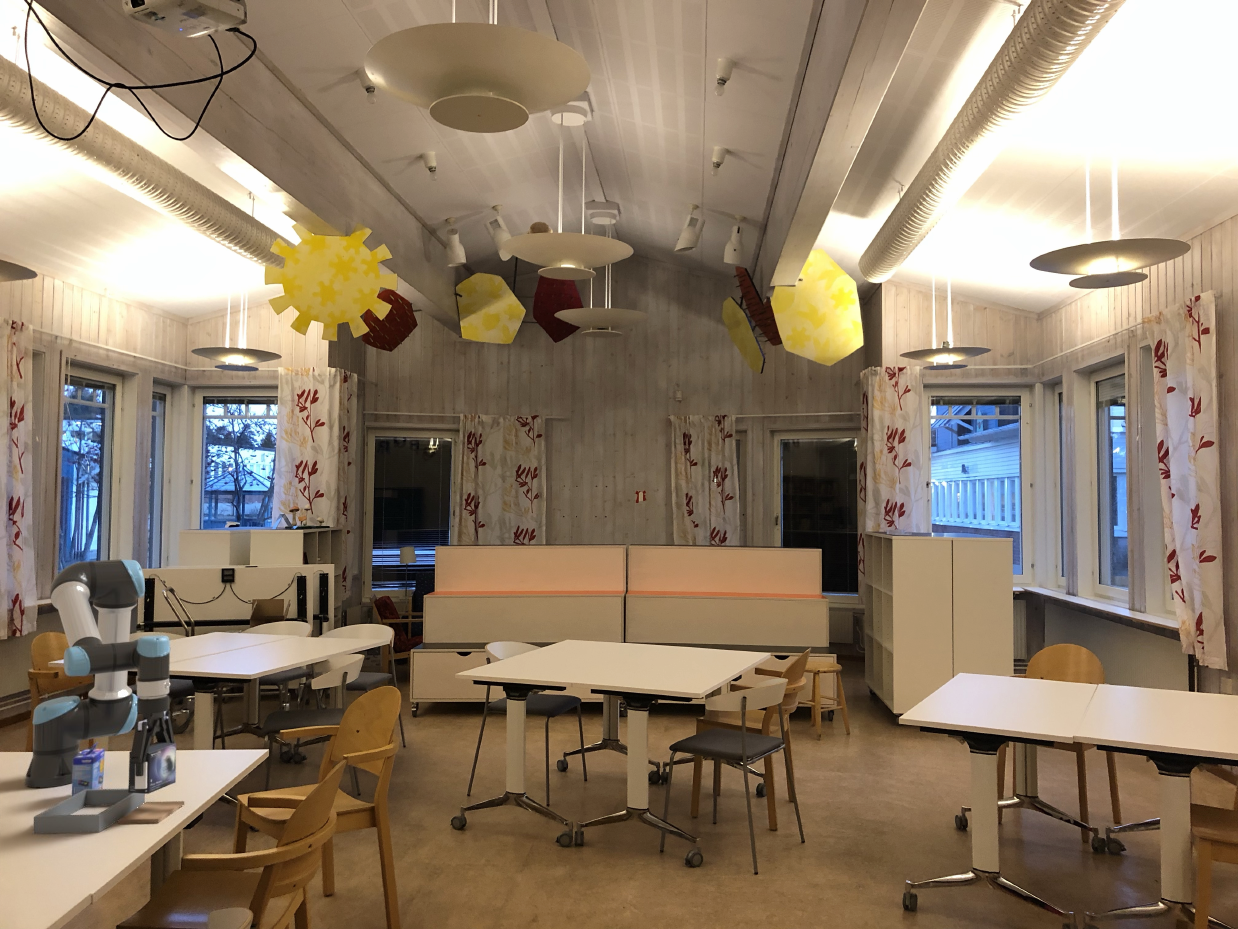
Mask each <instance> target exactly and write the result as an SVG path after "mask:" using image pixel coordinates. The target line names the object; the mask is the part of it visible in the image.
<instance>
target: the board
mask: <svg viewBox="0 0 1238 929" xmlns="http://www.w3.org/2000/svg"><path fill="white" fill-rule="evenodd" d="M182 805H184V806H185V801H183V800H176V801H173V800H172V801H146V802H145V803H144V804H142V805H141V806H139V807H138V808H136V809H135V810H133V811H131V812H130V813H128V814H127V815H125V816H124V817H122V818H120V819H119V820H118V824H119V825H120V824H122V825H126V824H129V823H132V824H159V823H161V822H162V821H163V820H165V819H166V818H168V817H169V816H171V815H172V814H174V813H175V812H176V811H178V810H179V809H180V808H179V807H181V806H182ZM182 807H183V806H182ZM182 807H181V808H182ZM178 808H179V809H178ZM177 809H178V810H177ZM174 811H175V812H174ZM173 812H174V813H173ZM170 814H171V815H170Z"/></svg>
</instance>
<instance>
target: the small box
mask: <svg viewBox="0 0 1238 929" xmlns="http://www.w3.org/2000/svg"><path fill="white" fill-rule="evenodd" d="M131 751H132V750H130V751H129V753H128V754H129V755H128V757H129V758H128V759H129V761H128V785H127V786H128V787H127V789H128V793H143V794H145V795H146V794H147V795H148V794H151V793H154V792H157V791H159V790H161V789H163V788H166V787H168V786H170V785H173V784H176V778H177V777H176V775H177V774H176V773H177V772H176V770H177V743H176V742H174V743H164V742H158V741H156V742H153V743H150V747H149V750H148V753H147V757H146V761H145V762H147V788H146V789H135V763H131V762H130V757H131Z"/></svg>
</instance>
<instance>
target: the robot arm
mask: <svg viewBox="0 0 1238 929" xmlns="http://www.w3.org/2000/svg"><path fill="white" fill-rule="evenodd" d="M54 577H55V578H54V579H53V580H52V583H51V585H50V588H49V598H50V601H51V604H52V606H53V607H54V608H55V609H57V610H58V614H59V617H60V620H61V624H62V627H63V630H64V634H65V638H66V641H67V643H68V646H69V647H68V648H65V651H64V654H63V670H64V673H65V675H66V676H68V677H78V676H79V677H86V676H93V675H94V687H93V688H91V689H90V690H89V691H88V695H87V696H88V697H87V699H83V700H81V698H80V696H79V695H70V696H61V697H57V698H53V699H50V700H47V701H43V702H41V703H39V704H38V705H36V707H35V708H34V710H33V718H32V722H31V723H32V725H33V727H32V729H33V730H32V732H33V733H32V735H33V736H32V758H31V760H30V763H29V766H28V769H27V771H26V773H25V774H26V775H25V778H24V779H25V781H24V784H25V786H26V785H27V786H26V787H28V786H29V787H28V788H36V787H40V788H53V787H57V786H59V787H60V786H64V785H69V784H72V774H73V758H74V757H75V756H77V755H78V754H80V753H81V752H80V741H84V740H85V741H86V740H92V739H99V738H105V737H115V736H118V735H121V734H127V733H129V732H130V731H131V730H132V729H133V728H134V734H133V741H132V747H131V750H130V751H131V757H130V762H131V763H135V789H146V788H147V762H145V761H146V757H147V753H148V750H149V747H150V744H152V739H153V738H154V737H155V739H156V742H164V743H175V737H174V732H173V727H172V726H173V725H172V722H171V711H170V710H169V709H170V695H169V694H170V686H171V684H172V683H171V682H170V666H171V664H170V663H171V661H170V658H171V656H170V655H171V654H170V652H171V645H170V638H169V636H167V635H161V634H160V635H159V634H157V635H156V634H155V635H154V634H153V635H144V636H141V637H139V639H134V640H132V641H130V634H131V617H132V616H131V615H132V610H133V609H134V608H135V607H137V605H138V599H141V598H143V597H144V596H145V592H146V587H145V586H146V585H145V579H144V572H143V569H142V567H141V565H140V563H139V562H138V561H137V560H134V559H123V558H121V559H108V560H106V559H105V560H91V561H88V560H85V561H77V562H75V563H72V564H70V565H67V566H66V567H65V568H64V569H62V570H61V571H60V572H59V573H57V575H56V576H54ZM90 602H92V607H94V608H95V609H96V610H97V611H98V617H97V618H98V619H97V623H96V620H95V617H94V614H93V610H92V607H91V604H90ZM135 670H137V671H136V672H137V679H136V680H137V682H136V694H135V693H133V690H132V688H131V687H130V686H128V671H135ZM138 713H139V714H141V715H142V718H141V721H137V718H138Z"/></svg>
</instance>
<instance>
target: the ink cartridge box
mask: <svg viewBox="0 0 1238 929" xmlns="http://www.w3.org/2000/svg"><path fill="white" fill-rule="evenodd" d="M97 745H98V742H95V743H94V744H93V745H92V746H91V747H90V748H87V749H83V750H81V752H80V754H78V755H77V756H75V757H74V758H73V774H72V783H71V797H72V796H73V795H75V794H77V793H79V792H81V791H83V790H85V789H104V774H105V773H104V771H105V748H96V746H97Z"/></svg>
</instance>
